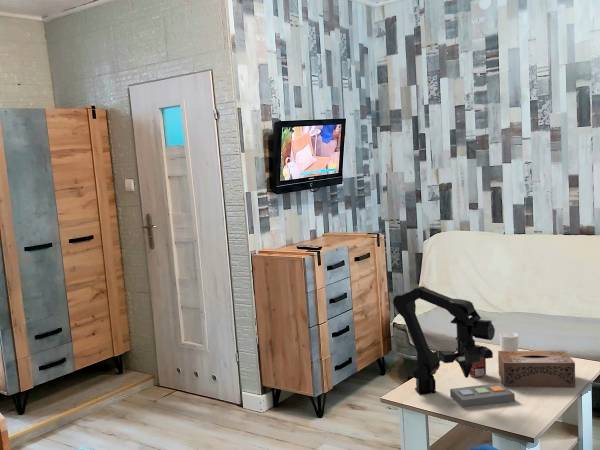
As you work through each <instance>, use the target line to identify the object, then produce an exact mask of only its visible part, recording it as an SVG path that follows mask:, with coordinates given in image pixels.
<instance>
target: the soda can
mask: <svg viewBox="0 0 600 450" xmlns="http://www.w3.org/2000/svg"><path fill="white" fill-rule="evenodd" d="M475 345H476V347H480V346H482V345H480V344H475ZM486 364H487V361H486V359H485V358H484V357H480V361H477V362H475V363H474V364H473V365H472V367H471V370H470V373H469V375H470V376H471V377H473V378H483V377H485V376H486V375H487V365H486Z"/></svg>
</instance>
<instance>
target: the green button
mask: <svg viewBox="0 0 600 450" xmlns="http://www.w3.org/2000/svg"><path fill="white" fill-rule="evenodd" d="M474 391H475V392H476V393H478V394H486V393H489V391H488V390H487V389H485V388H477V389H474Z"/></svg>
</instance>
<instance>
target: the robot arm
mask: <svg viewBox="0 0 600 450" xmlns="http://www.w3.org/2000/svg"><path fill="white" fill-rule="evenodd" d="M419 299H420V300H422V301H425V302H427V303H429V304H432V305H435V306H437V307H440V308H441V309H444V310H446V311H447V312H448V313H449V314H450V315H451V316H453V319H452V320H450V323H451V324H454V325H456V336H455V340H456V348H455V352H452V351H450V350H441V351H439V353H438V352H437V351H433V350H432V349H430V347H429V345H428V342H427V339H426V337H425V334H424V332H423V329H422V327H421V325H420V322H419V319H418V316H417V314H416V308H417V306H416V305H417V304H416V301H418V300H419ZM392 304H393V306H394V308H395V310H396V312H397V313H398V314H399V315H400V316H401V317H402V318H403V321H404V323H405V325H406V328H407V331H408V333H409V335H410V338H411V340H412V344H413V346H414V349H415V352H416V363H417V368H416V369H415V370H414V371H413V372H412V376H413V379H415V386H416V387H415V388H414V390H415V391H416V392H417V393H418V394H419V395H420V396H424V395H425V396H426V395H431V394H437V391H436V388H437V387H436V385H437V383H436V379H435V376H434V375H436V374H437V371H438V370H439V369H440V366H441V364H440V363H441V362H442V363H443V364H450V363H452V364H453V363H454V362H456V363H458V365H459V367H460V370H461V372H462V374H463V376H464V377H465V379H466V378H467V379H468V378H469V373H470V370H471V367H472V365H473V364H474V363H475V362H477V361H480V357H484V358H485V359H493V357H494V355H493V354H494V353H493V350H492V349H490V348H489V347H487V346H485V345H481V346H480V347H476V345H477V344H476V341H475V339H474V338H476V339H482V340H487V341H488V340H489V341H492V340H493V339H494V337H495V332H496V328H495V327H494V324H492V323H493V322H492V320H490V319H487V320H486V319H482V317H481V316H480V314H479V313H478V312H477V310H476V309H475V306H474V304H473V302H471V301H470V300H466V299H462V298H452V297H449V296H447V295H444V294H443V293H439V292H437V291H434V290H431V289H429V288H427V287H425V286H423V285H420V286H418V287H415V288H414V289H413V290H411V291H409V292H408V291H405V292H403V293H400V294H397V295H395V296H394V298H393V301H392Z"/></svg>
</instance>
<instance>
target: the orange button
mask: <svg viewBox="0 0 600 450" xmlns="http://www.w3.org/2000/svg"><path fill="white" fill-rule="evenodd" d="M489 389H490V390H491V391H493V392H502V391H505V390H504V389H503V388H502V387H500V386H493V387H489Z"/></svg>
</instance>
